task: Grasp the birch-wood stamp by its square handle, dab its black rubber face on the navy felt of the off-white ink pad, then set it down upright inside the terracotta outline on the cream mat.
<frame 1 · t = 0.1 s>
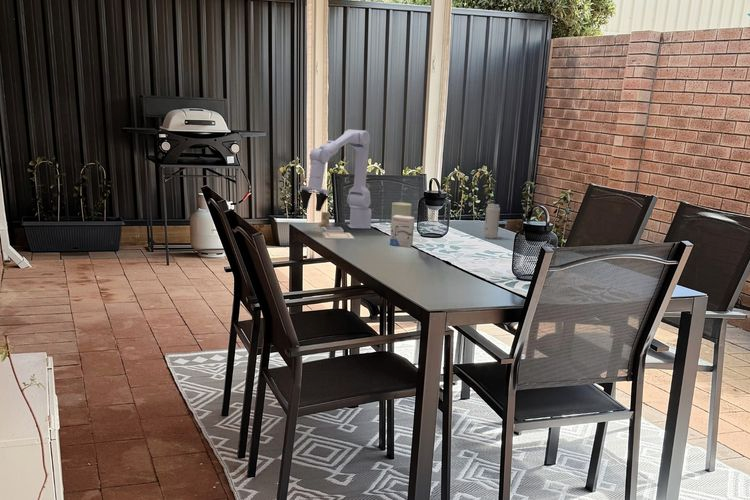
hand: (311, 209, 282), 11 cm above the table, tool pointing down, fingers open, 7 cm apart
stamp: (324, 226, 305), on the table
ink pad: (332, 230, 296), on the table
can: (400, 228, 312), on the table
energy drink can: (490, 238, 300), on the table
ink box: (401, 245, 273), on the table
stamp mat: (337, 236, 284), on the table
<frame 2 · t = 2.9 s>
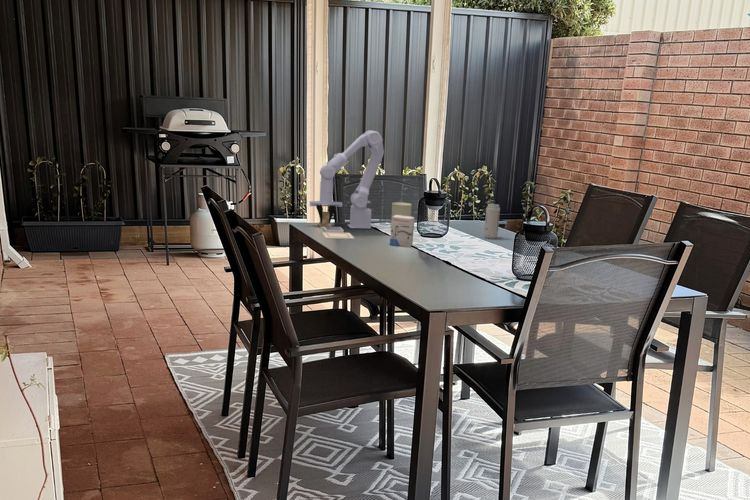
hand: (325, 222, 305), 2 cm above the table, tool pointing down, fingers closed on stamp, 3 cm apart
stamp: (324, 226, 305), on the table, touching gripper
everything else where it was.
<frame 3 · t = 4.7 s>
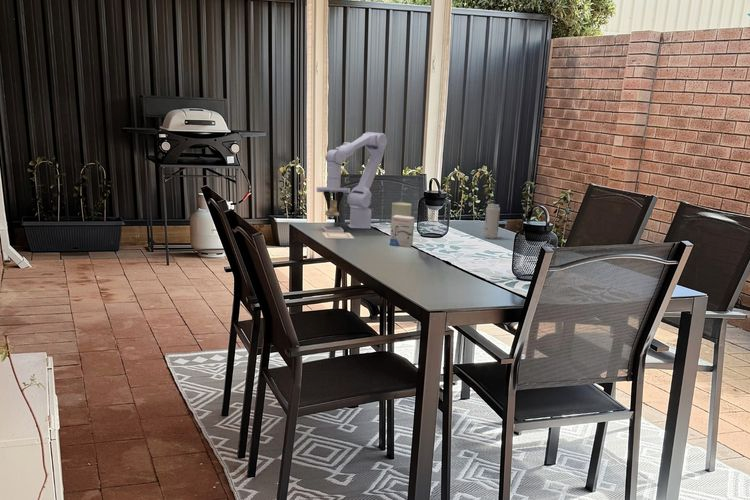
hand: (332, 208, 295), 9 cm above the table, tool pointing down, fingers closed on stamp, 3 cm apart
stamp: (332, 215, 296), point 7 cm above the table, touching gripper
everything else where it was.
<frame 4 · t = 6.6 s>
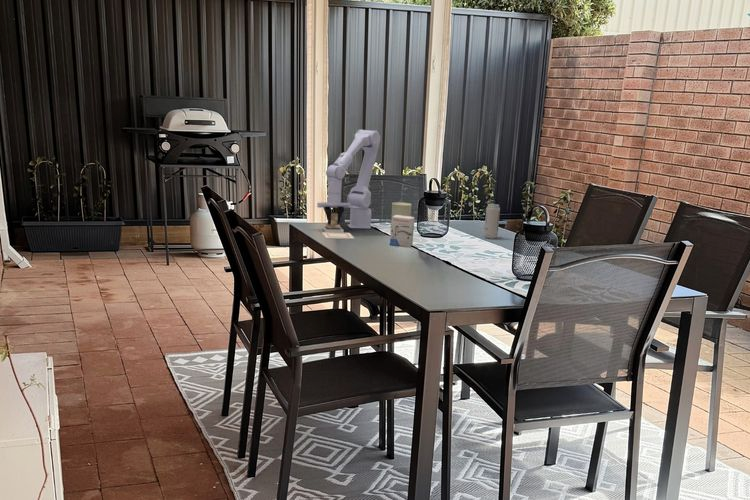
hand: (333, 223, 295), 3 cm above the table, tool pointing down, fingers closed on stamp, 3 cm apart
stamp: (332, 228, 296), point 1 cm above the table, touching gripper, ink pad
everything else where it was.
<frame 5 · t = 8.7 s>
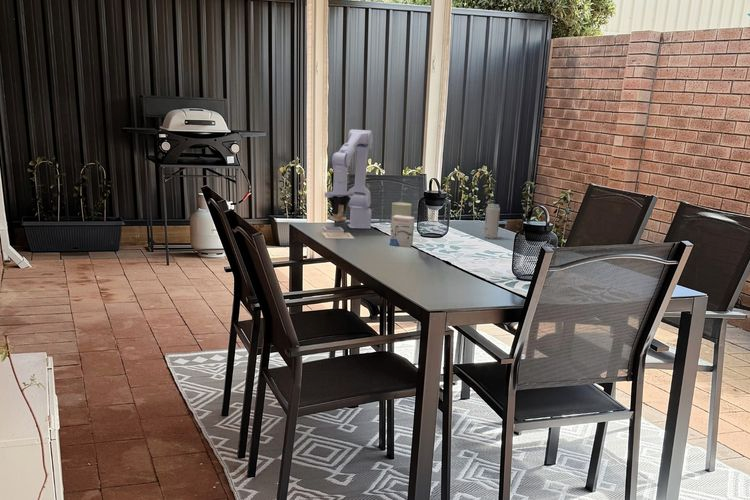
hand: (338, 214, 282), 9 cm above the table, tool pointing down, fingers closed on stamp, 3 cm apart
stamp: (337, 220, 283), point 7 cm above the table, touching gripper
everything else where it was.
when the fingers open (3 cm above the table, at t = 10.1 s): stamp stays where it is, resting on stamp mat.
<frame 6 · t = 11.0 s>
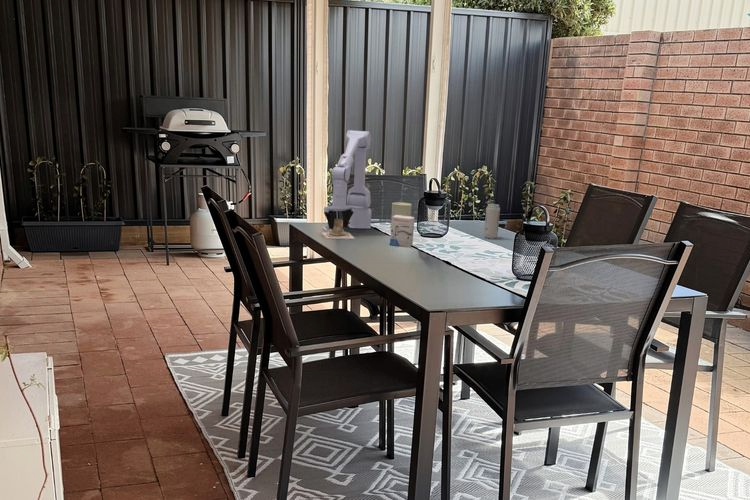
hand: (338, 228, 283), 3 cm above the table, tool pointing down, fingers open, 7 cm apart
stamp: (337, 235, 284), resting on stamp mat
everything else where it was.
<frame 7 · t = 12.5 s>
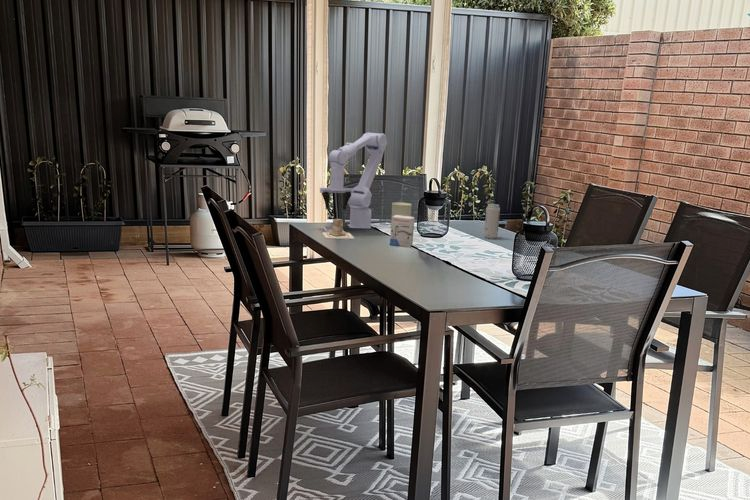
hand: (335, 209, 295), 9 cm above the table, tool pointing down, fingers open, 7 cm apart
nothing on the table moved.
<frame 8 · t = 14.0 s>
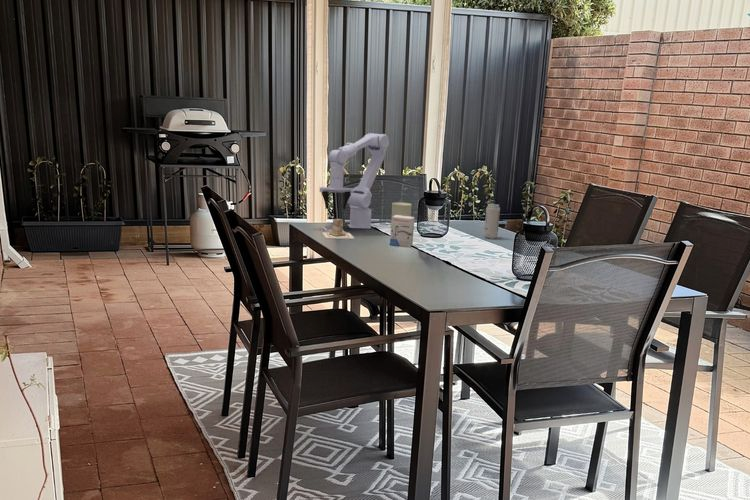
hand: (335, 208, 296), 9 cm above the table, tool pointing down, fingers open, 7 cm apart
nothing on the table moved.
at the end: stamp 0.4 cm off-centre on the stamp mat, point 0.4 cm above the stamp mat's base; stamp tilted 0°; the gripper is holding nothing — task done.
